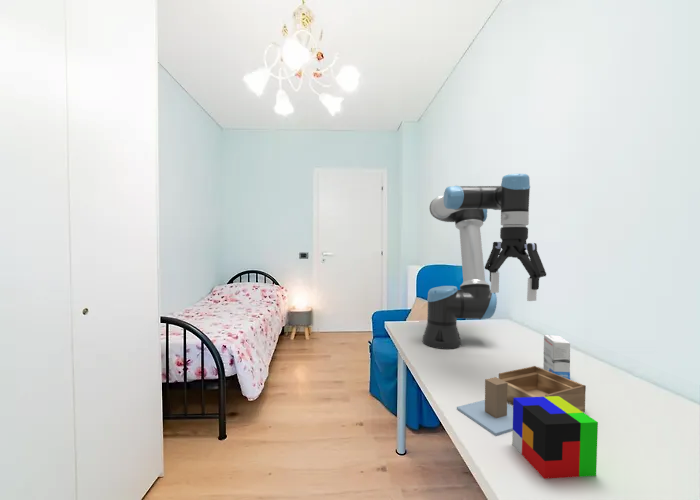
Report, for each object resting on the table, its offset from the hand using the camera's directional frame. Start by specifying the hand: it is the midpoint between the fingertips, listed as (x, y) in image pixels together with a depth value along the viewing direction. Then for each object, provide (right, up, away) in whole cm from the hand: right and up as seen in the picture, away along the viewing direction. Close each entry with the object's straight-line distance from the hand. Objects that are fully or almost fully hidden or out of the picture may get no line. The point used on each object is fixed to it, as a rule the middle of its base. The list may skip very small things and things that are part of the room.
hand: (511, 296), depth 101 cm
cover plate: (-14, -27, -20) cm, 36 cm away
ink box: (+16, -26, +5) cm, 31 cm away
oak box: (0, -26, -14) cm, 30 cm away
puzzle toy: (-10, -27, -36) cm, 46 cm away
